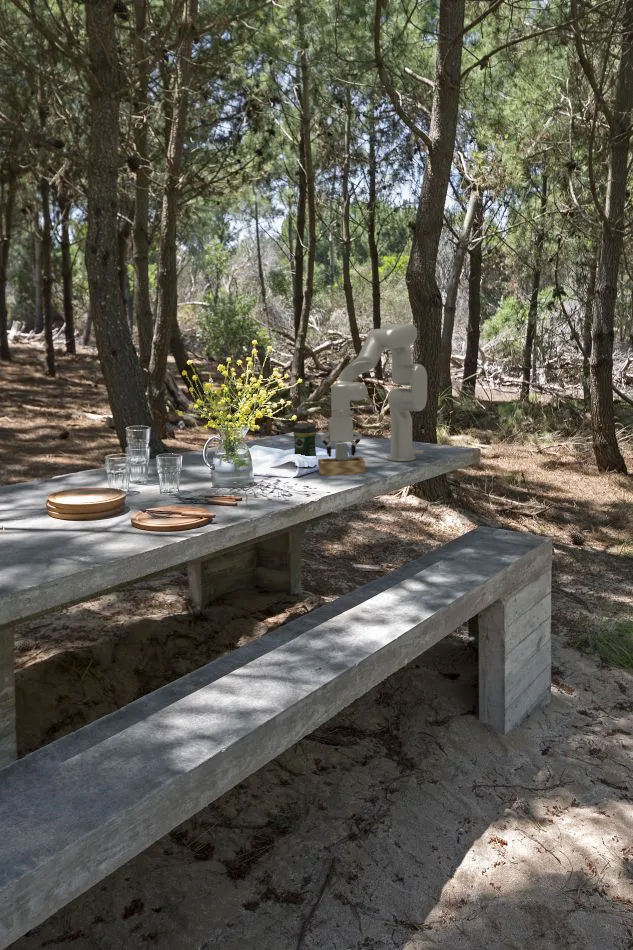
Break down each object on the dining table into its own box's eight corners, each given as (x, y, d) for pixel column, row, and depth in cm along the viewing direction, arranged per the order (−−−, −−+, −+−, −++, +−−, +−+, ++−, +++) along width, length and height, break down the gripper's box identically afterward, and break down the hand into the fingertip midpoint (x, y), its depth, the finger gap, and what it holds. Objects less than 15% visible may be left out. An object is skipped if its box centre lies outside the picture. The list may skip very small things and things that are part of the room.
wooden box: (360, 469, 341) (360, 457, 340) (365, 473, 331) (365, 461, 330) (318, 471, 338) (318, 458, 337) (321, 475, 329) (321, 462, 328)
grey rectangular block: (346, 469, 337) (346, 443, 335) (348, 471, 333) (347, 444, 331) (335, 469, 337) (335, 443, 335) (337, 471, 332) (336, 445, 330)
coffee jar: (320, 466, 350) (319, 423, 346) (307, 469, 344) (306, 425, 340) (303, 464, 356) (302, 421, 352) (291, 466, 350) (289, 424, 347)
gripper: (360, 412, 335) (360, 453, 338) (318, 413, 333) (319, 454, 336) (363, 414, 328) (363, 456, 331) (320, 415, 326) (321, 458, 329)
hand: (341, 455), depth 334 cm, fingers open, 9 cm apart
